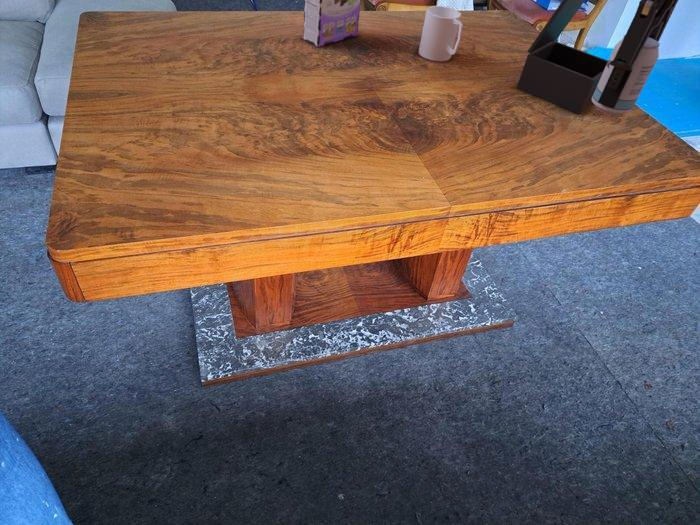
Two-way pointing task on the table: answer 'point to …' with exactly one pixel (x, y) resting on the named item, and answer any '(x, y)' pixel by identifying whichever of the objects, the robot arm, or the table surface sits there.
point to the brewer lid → (556, 23)
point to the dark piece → (562, 76)
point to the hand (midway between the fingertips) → (614, 98)
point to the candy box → (330, 20)
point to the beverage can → (634, 82)
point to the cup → (440, 33)
